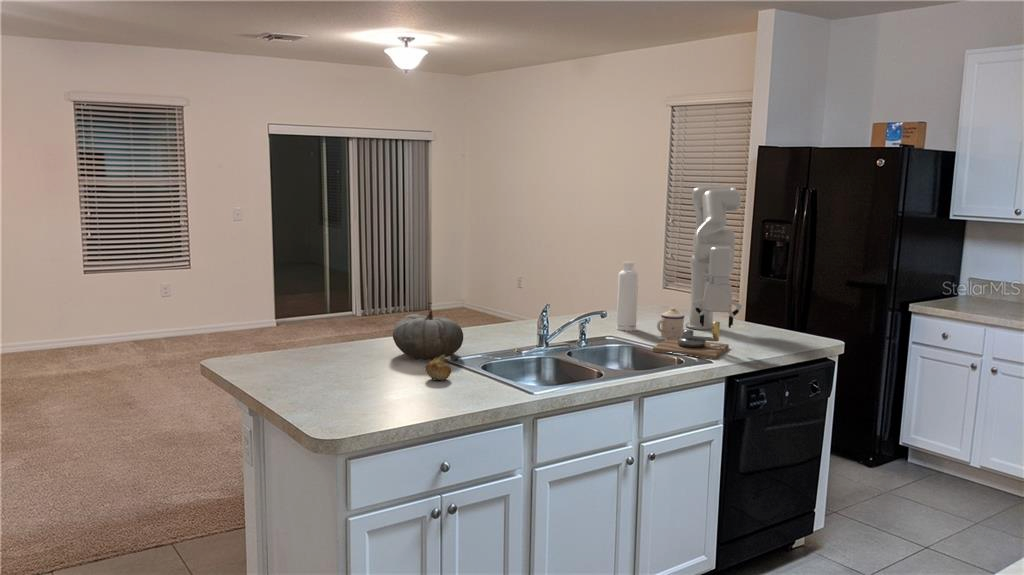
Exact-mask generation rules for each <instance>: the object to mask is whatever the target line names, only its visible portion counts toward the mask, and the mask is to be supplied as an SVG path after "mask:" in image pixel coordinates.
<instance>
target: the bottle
mask: <svg viewBox="0 0 1024 575" xmlns="http://www.w3.org/2000/svg"><path fill="white" fill-rule="evenodd" d="M622 264H623V268H622V270H621V271H619V272H618V275H617V302H616V306H617V307H616V328H617V329H619V330H618V331H621V330H625V331H624V332H633V331H632V330H634V331H637V317H638V315H637V313H638V311H637V310H638V290H639V289H638V288H639V287H638V286H639V274H638V272H637V271H636V270H635V268H634V265H635V261H629V260H628V261H627V260H626V261H623V262H622ZM617 329H616V330H617Z"/></svg>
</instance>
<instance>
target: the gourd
mask: <svg viewBox="0 0 1024 575" xmlns="http://www.w3.org/2000/svg"><path fill="white" fill-rule="evenodd" d="M392 339H393V341H394V344H395V345H396V348H398V349H399V350H400V351H401V352H402V353H403V354H405V355H406V356H409V357H410V358H412V359H415V360H418V359H422V361H423V360H426V359H429V360H434V359H435V358H438V357H440V356H441V355H446V356H445V357H449V356H450V357H451V356H452V355H454V354H455V353H457V351H459V349H461V347H462V345H463V343H464V332H463V329H462V327H461V326H460V325H459V324H458V323H457V322H455V321H454V320H452V319H451V318H446V317H443V316H433V309H430V310H429V312H428V314H427V316H426V315H420V314H418V313H414V314H413V313H412V314H408V315H406V316H404V317H403V318H402V319H401V320H399V321H398V322H397V323H396V325H395V326H394V328H393V332H392Z"/></svg>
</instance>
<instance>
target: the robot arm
mask: <svg viewBox="0 0 1024 575" xmlns="http://www.w3.org/2000/svg"><path fill="white" fill-rule="evenodd" d="M691 202H692V206H693V209H694V212H695V218H696V219H695V232H694V235H693V240H692V251H693V252H692V254H693V255H692V256H691V257H690V261H689V262H690V264H689V266H690V274H691V275H690V276H691V280H690V281H691V284H690V285H691V286H690V288H691V289H690V303H689V304H690V306H689V307H690V308H689V321H687V322H686V323H685V327H686V328H688V329H690V330H697V331H698V330H700V331H710V330H711V331H713V322H714V321H713V320H714V313H728V325H727V326H728V328H730V329H731V328H732V327H731V326H733V325H734V317H735V316H736V315H738V314H739V312H740V311H741V309H742V307H743V305H742V304H741V303H739V302H737V301H735V300H733V289H732V284H731V283H730V276H731V275H732V274H733V271H734V263H735V247H736V246H735V245H736V234H735V231H734V230H733V229H732V228H731V227H729V226H728V227H727V226H726V225H727V212H738V211H739V210H740V208H741V206H742V196H741V193H740V191H739V189H737V188H735V187H734V186H714V185H713V186H712V185H708V186H707V185H705V186H704V185H703V186H702V185H701V186H697V187H695V188H693V190H692V193H691ZM733 306H735V307H736V309H735V310H732V309H733Z"/></svg>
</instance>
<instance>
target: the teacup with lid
mask: <svg viewBox="0 0 1024 575" xmlns="http://www.w3.org/2000/svg"><path fill="white" fill-rule="evenodd" d="M660 316H661V319H660V320H659V321H657V324H656V328H657V330H658V331H659V332H660V336H661V338H662V339H663V338H664V339H667V338H669V337H670V338H678V337H681V336H682V331H683V330H684V320H685V315H684V313H681V312H679V311H678V310H676V307H670V309H669V310H667V311H665V312H662V313H661V314H660Z"/></svg>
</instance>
